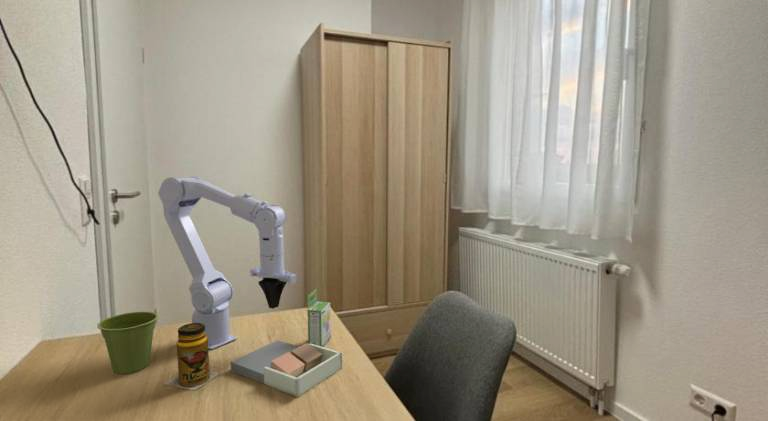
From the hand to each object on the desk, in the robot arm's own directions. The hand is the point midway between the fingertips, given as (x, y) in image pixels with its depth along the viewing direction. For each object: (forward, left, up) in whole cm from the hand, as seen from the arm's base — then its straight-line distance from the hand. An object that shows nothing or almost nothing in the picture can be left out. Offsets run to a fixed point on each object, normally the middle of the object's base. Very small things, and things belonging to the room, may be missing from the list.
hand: (273, 307), depth 104 cm
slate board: (+7, -7, -10) cm, 14 cm away
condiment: (-3, -21, -11) cm, 24 cm away
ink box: (+8, +8, -11) cm, 16 cm away
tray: (+17, -7, -10) cm, 21 cm away
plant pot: (-20, -25, -11) cm, 34 cm away
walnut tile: (+14, -4, -9) cm, 17 cm away
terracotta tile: (+14, -10, -9) cm, 19 cm away
